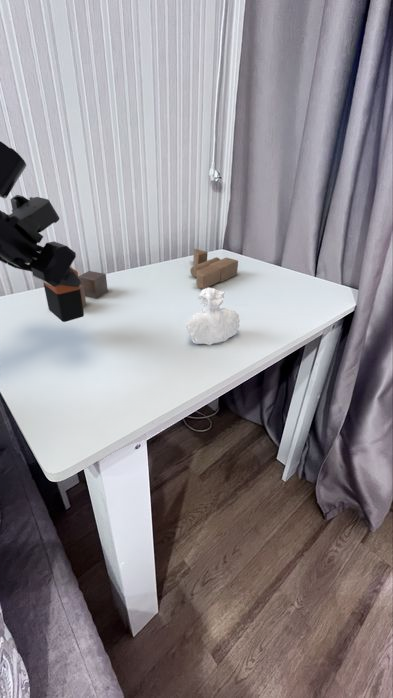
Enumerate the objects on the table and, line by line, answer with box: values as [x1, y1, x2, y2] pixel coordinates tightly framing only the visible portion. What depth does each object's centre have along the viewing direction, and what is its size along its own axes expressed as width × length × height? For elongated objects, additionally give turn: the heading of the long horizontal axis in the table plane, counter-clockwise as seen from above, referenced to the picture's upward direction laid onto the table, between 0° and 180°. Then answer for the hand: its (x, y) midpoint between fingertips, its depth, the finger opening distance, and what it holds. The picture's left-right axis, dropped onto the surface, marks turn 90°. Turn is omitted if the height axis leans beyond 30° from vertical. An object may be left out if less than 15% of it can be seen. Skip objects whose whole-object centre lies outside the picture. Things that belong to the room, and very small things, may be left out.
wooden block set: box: [189, 248, 239, 290], centre depth 99 cm, size 17×6×18 cm
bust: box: [185, 287, 241, 346], centre depth 68 cm, size 12×8×11 cm
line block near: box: [80, 286, 87, 308], centre depth 77 cm, size 5×5×5 cm
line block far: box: [78, 270, 109, 300], centre depth 84 cm, size 5×5×5 cm
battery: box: [42, 266, 85, 323], centre depth 61 cm, size 4×7×10 cm, turn 42°
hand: (67, 279), depth 61 cm, fingers closed on battery, 7 cm apart
